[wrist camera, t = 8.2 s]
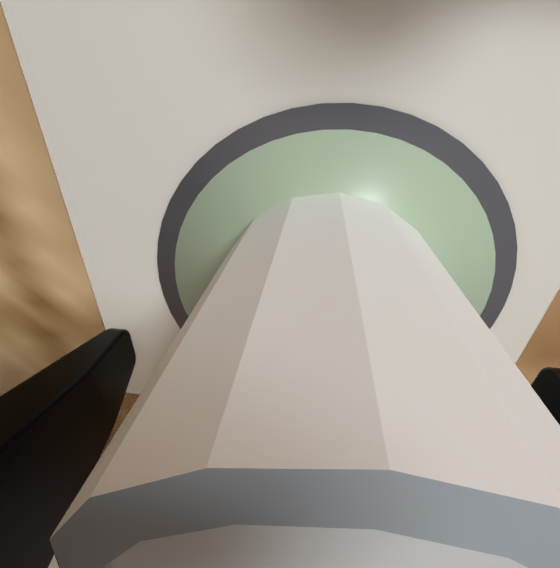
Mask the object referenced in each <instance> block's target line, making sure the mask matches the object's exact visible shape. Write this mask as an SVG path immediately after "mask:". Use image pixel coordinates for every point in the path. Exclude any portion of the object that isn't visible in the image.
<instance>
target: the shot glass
mask: <svg viewBox="0 0 560 568" xmlns="http://www.w3.org/2000/svg"><path fill="white" fill-rule="evenodd" d="M49 540H50V543H51V545H52V548H53V551H54V554H55V557H56V560H57V563H58V566H59V568H560V425H559V424H558V422H557V421H556V420H555V418H554V417H553V416H552V414H551V413H550V411H549V410H548V409H547V407H546V406H545V405H544V403H543V402H542V400H541V399H540V398H539V396H538V395H537V394H536V392H535V391H534V390H533V388H532V387H531V385H530V384H529V383H528V381H527V380H526V379H525V377H524V376H523V374H522V373H521V372H520V370H519V369H518V368H517V366H516V365H515V364H514V362H513V361H512V359H511V358H510V357H509V355H508V354H507V353H506V351H505V350H504V349H503V347H502V346H501V344H500V343H499V342H498V340H497V339H496V338H495V336H494V335H493V333H492V332H491V331H490V329H489V328H488V327H487V325H486V324H485V323H484V321H483V320H482V318H481V317H480V316H479V314H478V313H477V312H476V310H475V309H474V308H473V306H472V305H471V303H470V302H469V301H468V299H467V298H466V297H465V295H464V294H463V292H462V291H461V290H460V288H459V287H458V286H457V284H456V283H455V282H454V280H453V279H452V277H451V276H450V275H449V273H448V272H447V271H446V269H445V268H444V267H443V265H442V264H441V262H440V261H439V260H438V258H437V257H436V256H435V254H434V253H433V251H432V250H431V249H430V247H429V246H428V245H427V243H426V242H425V241H424V239H423V238H422V236H421V235H420V234H419V232H418V231H417V230H416V229H415V228H413V227H412V226H411V225H410V224H408V223H407V222H406V221H405V220H403V219H402V218H401V217H400V216H398V215H397V214H396V213H395V212H393V211H392V210H391V209H390V208H388V207H387V206H386V205H385V204H382V203H378V202H374V201H371V200H367V199H363V198H360V197H356V196H352V195H348V194H345V193H341V192H336V193H327V194H318V195H309V196H301V197H293V198H291V199H289V200H287V201H285V202H283V203H281V204H280V205H278V206H276V207H274V208H272V209H270V210H269V211H267V212H265V213H263V214H261V215H259V216H257V217H256V218H254V219H253V221H252V222H251V223H250V225H249V226H248V227H247V229H246V230H245V231H244V233H243V234H242V235H241V236H240V238H239V239H238V240H237V242H236V243H235V244H234V246H233V247H232V248H231V250H230V252H229V253H228V255H227V256H226V258H225V259H224V261H223V263H222V264H221V266H220V267H219V269H218V271H217V272H216V274H215V275H214V277H213V279H212V280H211V282H210V283H209V285H208V287H207V288H206V290H205V291H204V293H203V295H202V296H201V298H200V299H199V301H198V303H197V304H196V306H195V307H194V309H193V311H192V312H191V314H190V315H189V317H188V319H187V320H186V322H185V323H184V325H183V327H182V328H181V330H180V331H179V333H178V335H177V336H176V338H175V339H174V341H173V343H172V344H171V346H170V347H169V349H168V351H167V352H166V354H165V355H164V357H163V358H162V360H161V362H160V363H159V365H158V366H157V368H156V370H155V371H154V373H153V374H152V376H151V378H150V379H149V381H148V382H147V384H146V386H145V387H144V389H143V390H142V392H141V394H140V395H139V397H138V398H137V400H136V402H135V403H134V405H133V406H132V408H131V410H130V411H129V413H128V414H127V416H126V418H125V419H124V421H123V422H122V424H121V426H120V427H119V429H118V430H117V432H116V434H115V435H114V437H113V438H112V440H111V442H110V443H109V445H108V446H107V448H106V450H105V451H104V453H103V454H102V456H101V457H100V459H99V461H98V462H97V464H96V465H95V467H94V469H93V470H92V472H91V473H90V475H89V477H88V478H87V480H86V481H85V483H84V485H83V486H82V488H81V489H80V491H79V493H78V494H77V496H76V497H75V499H74V501H73V502H72V504H71V505H70V507H69V509H68V510H67V512H66V513H65V515H64V517H63V518H62V520H61V521H60V523H59V525H58V526H57V528H56V529H55V531H54V533H53V534H52V536H51V537H50V539H49Z"/></svg>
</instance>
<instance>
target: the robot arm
mask: <svg viewBox="0 0 560 568" xmlns="http://www.w3.org/2000/svg"><path fill="white" fill-rule="evenodd" d="M135 363H136V354H135V350H134V347H133V343H132V339H131V335H130V333H129V331H128V330H125V329H116V328H109V329H107V330H105V331H103V332H102V333H100V334H99V335H97V336H95V337H94V338H92V339H91V340H89V341H87V342H86V343H84V344H83V345H81V346H79V347H78V348H76V349H75V350H73V351H72V352H70V353H68V354H67V355H65V356H64V357H62V358H60V359H59V360H57V361H56V362H54V363H52V364H51V365H49V366H48V367H46V368H44V369H43V370H41V371H40V372H38V373H37V374H35V375H33V376H32V377H30V378H29V379H27V380H25V381H24V382H22V383H21V384H19V385H17V386H16V387H14V388H13V389H11V390H9V391H8V392H6V393H5V394H3V395H2V396H0V568H48V566H49V564H50V562H51V560H52V558H53V555H54V551H53V548H52V545H51V543H50V540H49V539H50V537H51V536H52V534H53V533H54V531H55V529H56V528H57V526H58V525H59V523H60V521H61V520H62V518H63V517H64V515H65V513H66V512H67V510H68V509H69V507H70V505H71V504H72V502H73V501H74V499H75V497H76V496H77V494H78V493H79V491H80V489H81V488H82V486H83V485H84V483H85V481H86V480H87V478H88V477H89V475H90V473H91V472H92V470H93V469H94V467H95V465H96V464H97V462H98V460H99V457H100V455H101V453H102V451H103V449H104V447H105V445H106V443H107V440H108V438H109V436H110V434H111V431H112V429H113V427H114V424H115V422H116V419H117V416H118V413H119V410H120V407H121V404H122V402H123V399H124V396H125V393H126V390H127V387H128V384H129V381H130V378H131V375H132V372H133V369H134V367H135ZM531 387H532V388H533V390H534V391H535V392H536V394H537V395H538V396H539V398H540V399H541V400H542V402H543V403H544V405H545V406H546V407H547V409H548V410H549V411H550V413H551V414H552V416H553V417H554V418H555V420H556V421H557V422H558V424H559V425H560V368H551V367H546V368H544V369H542V370H541V371H540V372H539V374H538V375H537V377H536V378H535V380H534V381H533V383H532V384H531Z"/></svg>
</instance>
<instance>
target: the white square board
mask: <svg viewBox="0 0 560 568" xmlns="http://www.w3.org/2000/svg"><path fill="white" fill-rule="evenodd" d="M0 2H1V5H2V8H3V11H4V14H5V17H6V20H7V24H8V27H9V30H10V33H11V36H12V39H13V42H14V45H15V49H16V52H17V55H18V58H19V61H20V64H21V67H22V70H23V73H24V77H25V80H26V83H27V86H28V89H29V92H30V95H31V98H32V102H33V105H34V108H35V111H36V114H37V117H38V120H39V123H40V127H41V130H42V133H43V136H44V139H45V142H46V145H47V148H48V151H49V155H50V158H51V161H52V164H53V167H54V170H55V173H56V176H57V180H58V183H59V186H60V189H61V192H62V195H63V198H64V201H65V205H66V208H67V211H68V214H69V217H70V220H71V223H72V226H73V230H74V233H75V236H76V239H77V242H78V245H79V248H80V251H81V254H82V258H83V261H84V264H85V267H86V270H87V273H88V276H89V279H90V283H91V286H92V289H93V292H94V295H95V298H96V301H97V304H98V308H99V311H100V314H101V317H102V320H103V323H104V326H105V329H106V330H107V329H109V328H116V329H125V330H128V331H129V333H130V335H131V339H132V343H133V347H134V350H135V354H136V363H135V367H134V369H133V372H132V375H131V378H130V381H129V384H128V387H127V390H126V393H134V394H141V392H142V390H143V389H144V387H145V386H146V384H147V382H148V381H149V379H150V378H151V376H152V374H153V373H154V371H155V370H156V368H157V366H158V365H159V363H160V362H161V360H162V358H163V357H164V355H165V354H166V352H167V351H168V349H169V347H170V346H171V344H172V343H173V341H174V339H175V338H176V336H177V335H178V333H179V331H180V330H181V328H182V327H183V325H184V323H185V322H186V320H187V319H188V317H189V315H190V314H191V312H192V311H193V309H194V307H195V306H196V304H197V303H198V301H199V299H200V298H201V296H202V295H203V293H204V291H205V290H206V288H207V287H208V285H209V283H210V282H211V280H212V279H213V277H214V275H215V274H216V272H217V271H218V269H219V267H220V266H221V264H222V263H223V261H224V259H225V258H226V256H227V255H228V253H229V252H230V250H231V248H232V247H233V246H234V244H235V243H236V242H237V240H238V239H239V238H240V236H241V235H242V234H243V233H244V231H245V230H246V229H247V227H248V226H249V225H250V223H251V222H252V221H253V219H254V218H256V217H257V216H259V215H261V214H263V213H265V212H267V211H269V210H270V209H272V208H274V207H276V206H278V205H280V204H281V203H283V202H285V201H287V200H289V199H291V198H293V197H301V196H309V195H318V194H327V193H336V192H341V193H345V194H348V195H352V196H356V197H360V198H363V199H367V200H371V201H374V202H378V203H382V204H385V205H386V206H387V207H388V208H390V209H391V210H392V211H393V212H395V213H396V214H397V215H398V216H400V217H401V218H402V219H403V220H405V221H406V222H407V223H408V224H410V225H411V226H412V227H413V228H415V229H416V230H417V231H418V232H419V234H420V235H421V236H422V238H423V239H424V241H425V242H426V243H427V245H428V246H429V247H430V249H431V250H432V251H433V253H434V254H435V256H436V257H437V258H438V260H439V261H440V262H441V264H442V265H443V267H444V268H445V269H446V271H447V272H448V273H449V275H450V276H451V277H452V279H453V280H454V282H455V283H456V284H457V286H458V287H459V288H460V290H461V291H462V292H463V294H464V295H465V297H466V298H467V299H468V301H469V302H470V303H471V305H472V306H473V308H474V309H475V310H476V312H477V313H478V314H479V316H480V317H481V318H482V320H483V321H484V323H485V324H486V325H487V327H488V328H489V329H490V331H491V332H492V333H493V335H494V336H495V338H496V339H497V340H498V342H499V343H500V344H501V346H502V347H503V349H504V350H505V351H506V353H507V354H508V355H509V357H510V358H511V359H512V361H513V362H514V364H515V363H516V361H517V360H518V358H519V356H520V355H521V353H522V351H523V350H524V348H525V346H526V344H527V343H528V341H529V339H530V338H531V336H532V334H533V332H534V331H535V329H536V327H537V326H538V324H539V322H540V320H541V319H542V317H543V315H544V314H545V312H546V310H547V309H548V307H549V305H550V303H551V302H552V300H553V298H554V297H555V295H556V293H557V291H558V290H559V288H560V0H0Z"/></svg>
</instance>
